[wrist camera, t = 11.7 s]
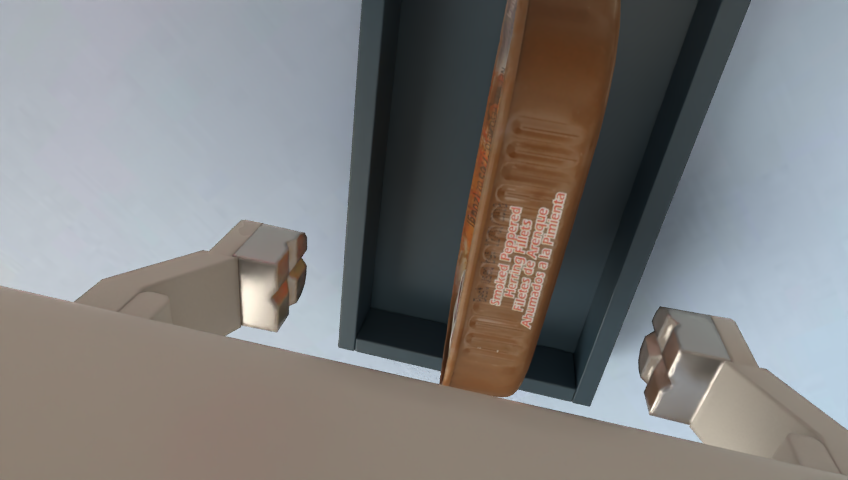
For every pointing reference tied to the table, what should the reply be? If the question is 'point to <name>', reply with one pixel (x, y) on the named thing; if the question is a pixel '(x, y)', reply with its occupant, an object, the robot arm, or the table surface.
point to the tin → (527, 185)
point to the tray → (455, 162)
